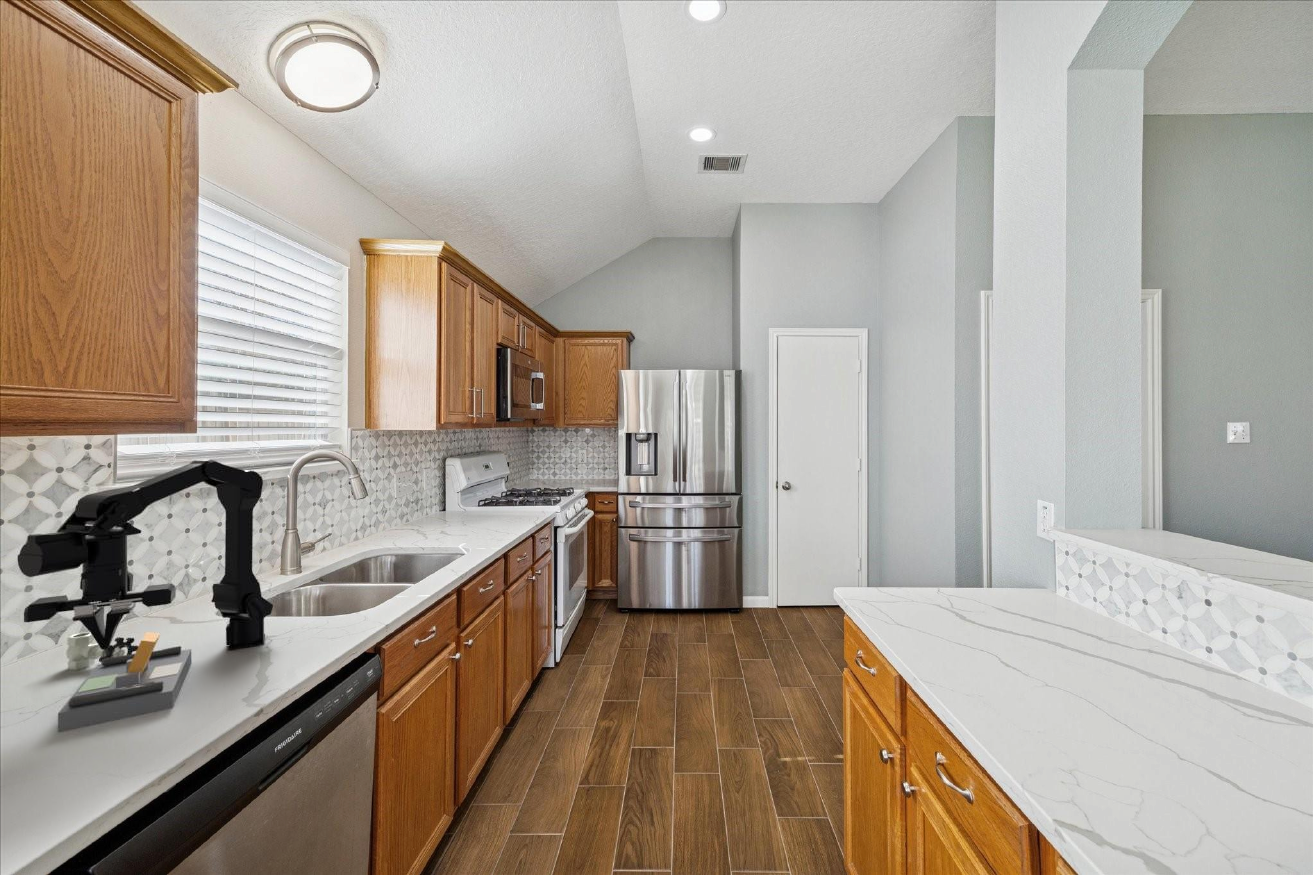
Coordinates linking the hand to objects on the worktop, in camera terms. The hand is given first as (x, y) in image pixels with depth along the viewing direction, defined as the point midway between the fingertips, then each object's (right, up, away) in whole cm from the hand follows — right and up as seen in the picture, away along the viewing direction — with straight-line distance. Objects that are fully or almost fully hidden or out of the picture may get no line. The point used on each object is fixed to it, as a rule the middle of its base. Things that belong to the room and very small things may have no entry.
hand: (105, 648), depth 99 cm
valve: (-15, -9, +13) cm, 22 cm away
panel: (+3, -9, +2) cm, 10 cm away
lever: (+3, -6, +2) cm, 7 cm away
